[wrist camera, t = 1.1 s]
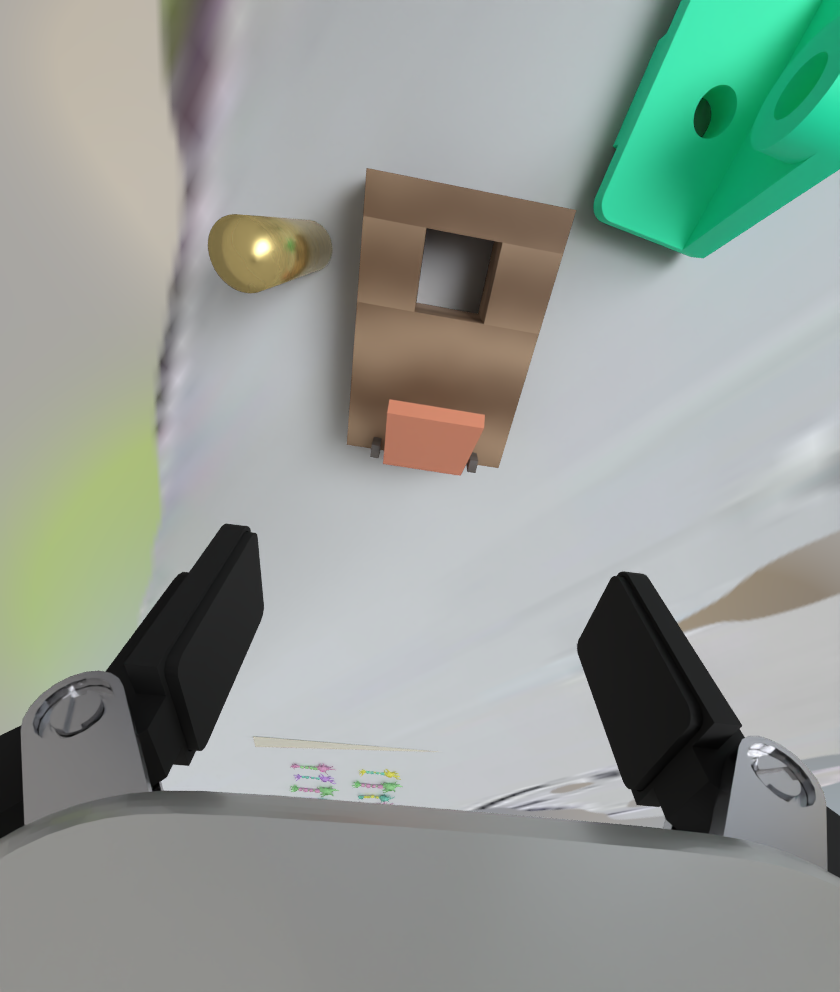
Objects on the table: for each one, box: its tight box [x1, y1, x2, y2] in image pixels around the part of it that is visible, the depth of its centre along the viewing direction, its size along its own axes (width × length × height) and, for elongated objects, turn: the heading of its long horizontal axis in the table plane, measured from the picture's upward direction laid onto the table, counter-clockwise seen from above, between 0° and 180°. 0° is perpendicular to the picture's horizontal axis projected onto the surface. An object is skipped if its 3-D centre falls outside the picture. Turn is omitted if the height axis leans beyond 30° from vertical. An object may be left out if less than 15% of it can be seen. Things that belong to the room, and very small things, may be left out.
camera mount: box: [593, 0, 840, 258], centre depth 20 cm, size 12×8×10 cm, turn 163°
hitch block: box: [347, 168, 576, 473], centre depth 29 cm, size 17×12×5 cm
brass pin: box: [208, 214, 332, 293], centre depth 23 cm, size 3×3×12 cm
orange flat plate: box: [383, 399, 485, 476], centre depth 29 cm, size 7×6×1 cm
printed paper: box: [253, 737, 437, 805], centre depth 72 cm, size 30×30×2 cm
